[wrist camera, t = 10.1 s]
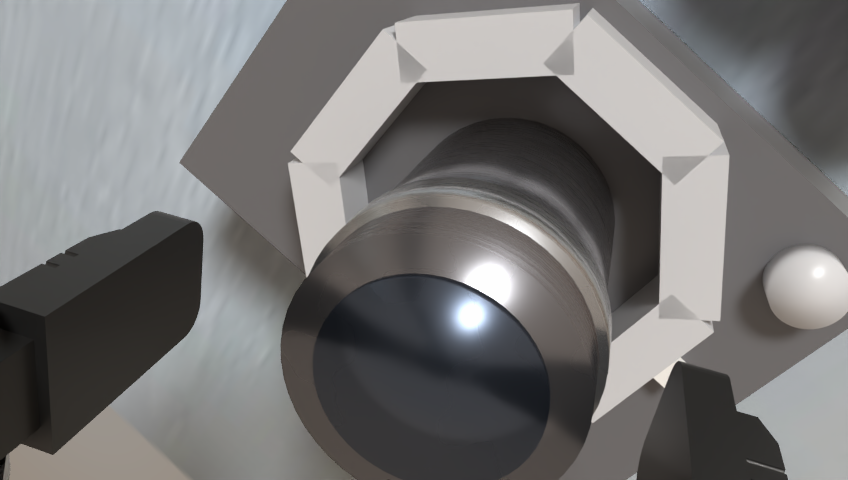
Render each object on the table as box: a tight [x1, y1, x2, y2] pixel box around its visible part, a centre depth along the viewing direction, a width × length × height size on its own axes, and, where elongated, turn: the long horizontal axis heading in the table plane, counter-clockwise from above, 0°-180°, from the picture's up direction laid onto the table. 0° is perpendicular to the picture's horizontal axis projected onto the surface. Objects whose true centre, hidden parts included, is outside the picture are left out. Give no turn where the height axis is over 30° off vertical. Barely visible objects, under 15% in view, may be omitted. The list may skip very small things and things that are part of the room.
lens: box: [281, 118, 615, 480], centre depth 14 cm, size 5×5×7 cm
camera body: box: [179, 0, 848, 480], centre depth 19 cm, size 14×10×6 cm
